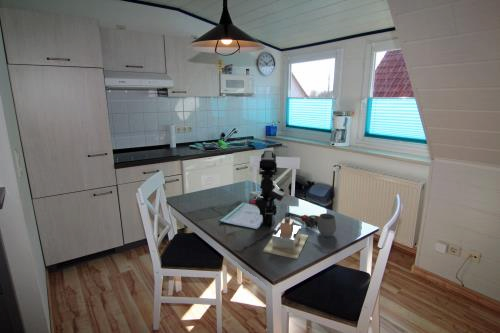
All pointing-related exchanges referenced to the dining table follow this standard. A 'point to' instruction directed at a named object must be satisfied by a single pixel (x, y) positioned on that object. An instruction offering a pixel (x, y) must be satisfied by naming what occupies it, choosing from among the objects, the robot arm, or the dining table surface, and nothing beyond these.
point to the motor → (286, 238)
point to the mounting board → (287, 253)
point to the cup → (326, 225)
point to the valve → (306, 219)
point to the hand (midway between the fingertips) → (267, 213)
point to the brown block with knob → (287, 225)
